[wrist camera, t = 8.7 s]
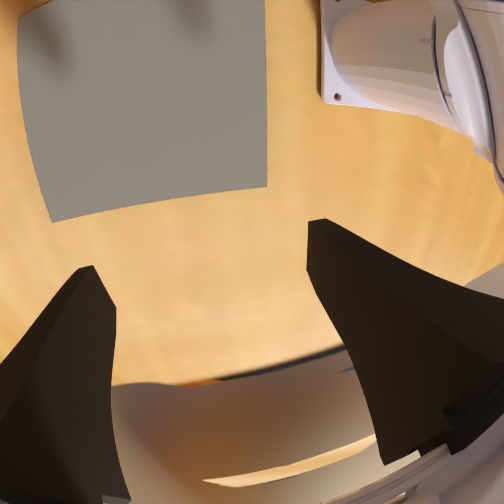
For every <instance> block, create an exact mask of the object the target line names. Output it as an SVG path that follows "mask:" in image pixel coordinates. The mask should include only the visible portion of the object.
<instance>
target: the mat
mask: <svg viewBox="0 0 504 504" xmlns="http://www.w3.org/2000/svg"><path fill="white" fill-rule="evenodd" d="M17 63H18V79H19V89H20V98H21V106H22V112H23V119H24V124H25V130H26V135H27V140H28V144H29V149H30V153H31V157H32V161H33V165H34V168H35V172H36V176H37V179H38V182H39V186H40V189H41V192H42V195H43V198H44V201H45V204H46V207H47V210H48V213H49V216H50V218H51V221H52V223H54V222H58V221H62V220H66V219H71V218H75V217H79V216H84V215H88V214H93V213H98V212H103V211H108V210H112V209H118V208H123V207H128V206H133V205H139V204H145V203H150V202H156V201H162V200H168V199H175V198H181V197H188V196H195V195H202V194H209V193H217V192H225V191H233V190H242V189H251V188H260V187H267V93H266V40H265V4H264V0H52V1H50V2H48V3H46V4H44V5H42V6H40V7H38V8H36V9H34V10H32V11H30V12H29V13H27V14H25V15H23V16H21V17H20V18H18V26H17Z"/></svg>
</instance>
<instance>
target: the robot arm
mask: <svg viewBox="0 0 504 504" xmlns="http://www.w3.org/2000/svg"><path fill="white" fill-rule="evenodd" d="M320 3H321V42H322V66H321V98H322V100H323V101H324V102H325V103H328V104H338V105H349V106H359V107H368V108H375V109H383V110H389V111H395V112H401V113H407V114H412V115H415V116H418V117H421V118H424V119H426V120H429V121H432V122H434V123H437V124H439V125H442V126H444V127H447V128H449V129H451V130H454V131H456V132H458V133H461V134H463V135H465V136H467V137H469V138H470V139H471V141H472V143H473V145H474V150H475V153H476V154H477V155H479V156H481V157H483V158H484V159H486V160H488V161H490V162H491V163H493V167H494V175H495V179H496V182H497V184H498V186H499V189H500V190H501V192H502V193H503V195H504V0H388V1H383V2H378V3H372V2H369V1H366V0H338V2H337V1H335V0H320ZM336 93H337V94H338V99H337V100H335V99H334V95H335V94H336ZM306 270H307V272H308V275H309V277H310V280H311V282H312V285H313V287H314V290H315V292H316V294H317V296H318V298H319V300H320V302H321V303H322V305H323V307H324V309H325V311H326V312H327V314H328V316H329V318H330V320H331V321H332V323H333V325H334V327H335V328H336V330H337V332H338V334H339V336H340V338H341V339H342V341H343V343H344V345H345V347H346V349H347V351H348V353H349V355H350V357H351V360H352V362H353V365H354V368H355V370H356V373H357V376H358V378H359V381H360V384H361V387H362V389H363V393H364V395H365V398H366V401H367V405H368V408H369V412H370V415H371V419H372V422H373V425H374V430H375V434H376V439H377V443H378V448H379V453H380V457H381V459H382V462H383V464H384V465H387V464H390V463H392V462H394V461H396V460H399V459H401V458H403V457H405V456H407V455H409V454H411V453H413V452H414V451H416V450H418V451H419V453H420V456H421V457H420V458H419V459H417V460H415V461H414V462H412V463H410V464H408V465H407V466H405V467H403V468H401V469H400V470H398V471H396V472H394V473H392V474H390V475H388V476H386V477H384V478H382V479H380V480H378V481H376V482H374V483H372V484H369V485H367V486H365V487H363V488H360V489H358V490H355V491H353V492H351V493H348V494H346V495H343V496H341V497H338V498H335V499H332V500H329V501H326V502H323V503H320V504H504V299H502V298H498V297H494V296H491V295H488V294H484V293H481V292H477V291H474V290H471V289H468V288H465V287H463V286H460V285H457V284H455V283H452V282H449V281H447V280H444V279H442V278H440V277H437V276H435V275H433V274H430V273H428V272H426V271H424V270H422V269H419V268H417V267H415V266H413V265H411V264H409V263H407V262H405V261H403V260H401V259H399V258H397V257H396V256H394V255H392V254H390V253H388V252H386V251H384V250H382V249H381V248H379V247H377V246H375V245H373V244H372V243H370V242H368V241H366V240H365V239H363V238H361V237H359V236H358V235H356V234H354V233H352V232H351V231H349V230H347V229H345V228H344V227H342V226H340V225H338V224H336V223H334V222H332V221H330V220H328V219H326V218H325V219H319V220H314V221H308V247H307V268H306ZM115 339H116V306H115V304H114V303H113V301H112V299H111V298H110V296H109V294H108V292H107V290H106V289H105V287H104V285H103V283H102V281H101V279H100V277H99V276H98V274H97V272H96V270H95V268H94V266H93V265H91V266H87V267H83V268H79V269H78V270H76V271H75V272H74V273H73V274H72V275H71V277H70V278H69V279H68V280H67V281H66V282H65V283H64V285H63V286H62V287H61V288H60V290H59V291H58V292H57V293H56V295H55V296H54V297H53V298H52V300H51V301H50V302H49V304H48V305H47V306H46V307H45V309H44V310H43V311H42V313H41V314H40V315H39V317H38V318H37V319H36V320H35V322H34V323H33V324H32V326H31V327H30V328H29V330H28V331H27V332H26V334H25V335H24V336H23V337H22V339H21V340H20V341H19V342H18V344H17V345H16V346H15V347H14V349H13V350H12V351H11V352H10V353H9V354H8V356H7V357H6V358H5V359H4V360H3V362H2V363H1V364H0V504H103V503H107V504H129V503H130V501H131V497H130V495H129V492H128V489H127V486H126V483H125V480H124V477H123V474H122V471H121V467H120V463H119V458H118V454H117V450H116V445H115V438H114V433H113V432H114V431H113V424H112V413H111V380H112V368H113V358H114V348H115ZM405 491H406V493H405V495H401V496H398V495H400V494H402V493H404V492H405ZM396 496H398V497H396Z"/></svg>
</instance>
